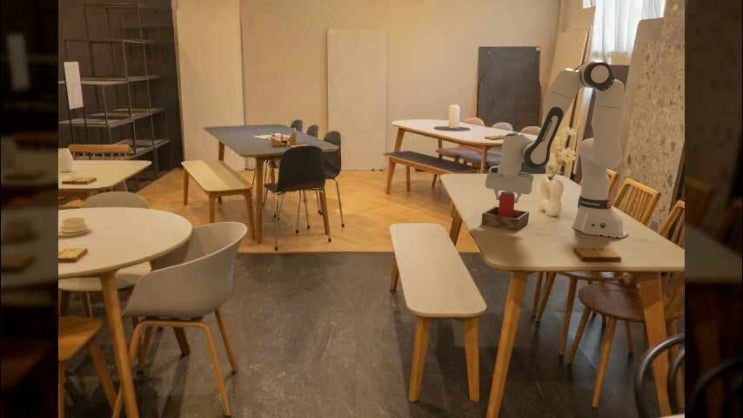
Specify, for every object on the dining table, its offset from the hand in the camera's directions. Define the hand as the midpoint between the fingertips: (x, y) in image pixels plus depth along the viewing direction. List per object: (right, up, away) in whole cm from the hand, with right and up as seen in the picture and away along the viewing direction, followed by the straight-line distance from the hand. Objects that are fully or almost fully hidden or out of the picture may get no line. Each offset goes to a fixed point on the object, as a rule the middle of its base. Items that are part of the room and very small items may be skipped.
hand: (506, 201), depth 251 cm
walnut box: (0, -10, +3) cm, 10 cm away
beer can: (0, -8, +2) cm, 8 cm away
